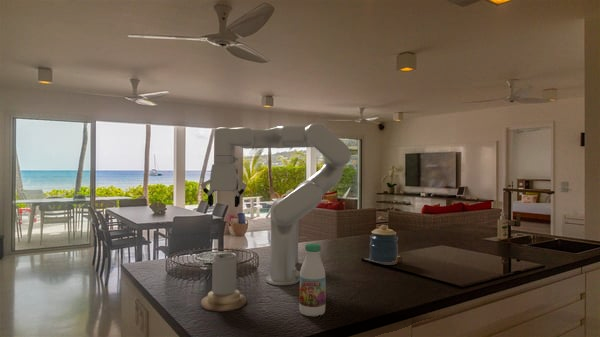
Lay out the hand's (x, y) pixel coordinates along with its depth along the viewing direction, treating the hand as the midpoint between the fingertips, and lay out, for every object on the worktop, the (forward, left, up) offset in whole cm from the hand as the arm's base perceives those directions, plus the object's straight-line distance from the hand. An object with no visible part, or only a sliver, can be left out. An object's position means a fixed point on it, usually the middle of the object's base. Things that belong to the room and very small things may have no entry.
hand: (223, 206), depth 138 cm
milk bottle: (-34, +26, -28) cm, 51 cm away
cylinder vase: (-20, -31, -28) cm, 47 cm away
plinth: (-6, +21, -28) cm, 36 cm away
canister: (-66, -36, -29) cm, 80 cm away
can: (-6, +21, -26) cm, 33 cm away
